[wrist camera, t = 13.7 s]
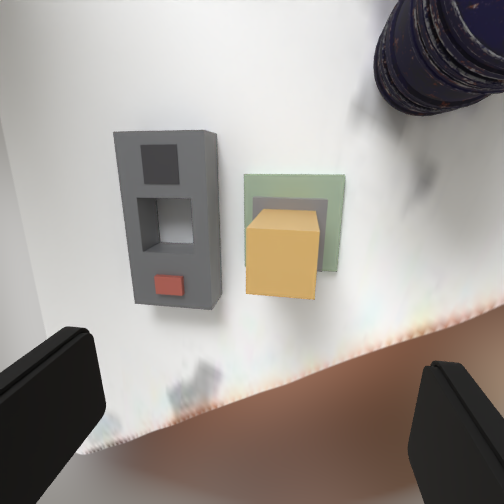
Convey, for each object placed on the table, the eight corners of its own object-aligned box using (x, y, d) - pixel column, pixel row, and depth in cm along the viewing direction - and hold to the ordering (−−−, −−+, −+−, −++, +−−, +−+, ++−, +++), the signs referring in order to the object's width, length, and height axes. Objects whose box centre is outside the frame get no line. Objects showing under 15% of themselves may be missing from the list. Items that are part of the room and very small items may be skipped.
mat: (245, 174, 31) (243, 174, 31) (344, 174, 30) (345, 175, 29) (246, 264, 34) (244, 266, 34) (336, 269, 33) (336, 271, 32)
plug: (260, 191, 31) (231, 212, 19) (324, 193, 30) (337, 216, 18) (259, 251, 33) (232, 305, 20) (319, 254, 32) (328, 314, 19)
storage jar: (362, 15, 26) (429, -161, 12) (491, -38, 23) (771, -338, 9) (383, 133, 28) (461, 105, 14) (503, 95, 26) (741, 17, 12)
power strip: (135, 135, 32) (109, 131, 28) (216, 133, 31) (201, 129, 26) (152, 289, 37) (132, 305, 33) (221, 294, 36) (210, 312, 32)
